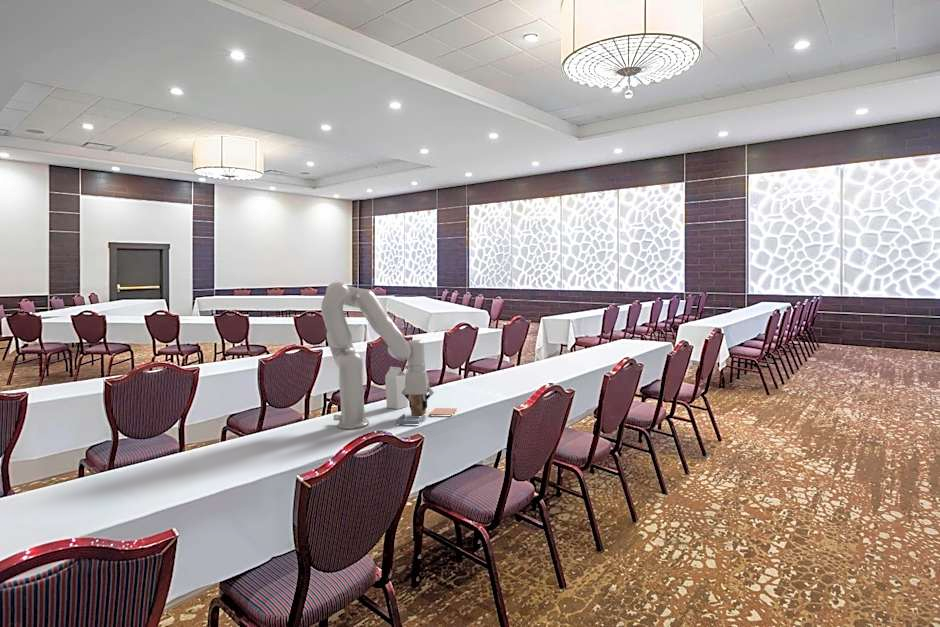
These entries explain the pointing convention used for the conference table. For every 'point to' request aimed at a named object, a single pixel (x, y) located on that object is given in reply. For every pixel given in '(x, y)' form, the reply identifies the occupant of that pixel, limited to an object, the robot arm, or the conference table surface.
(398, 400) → the milk carton
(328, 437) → the conference table surface
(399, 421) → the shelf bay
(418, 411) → the walnut block
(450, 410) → the terracotta tile
